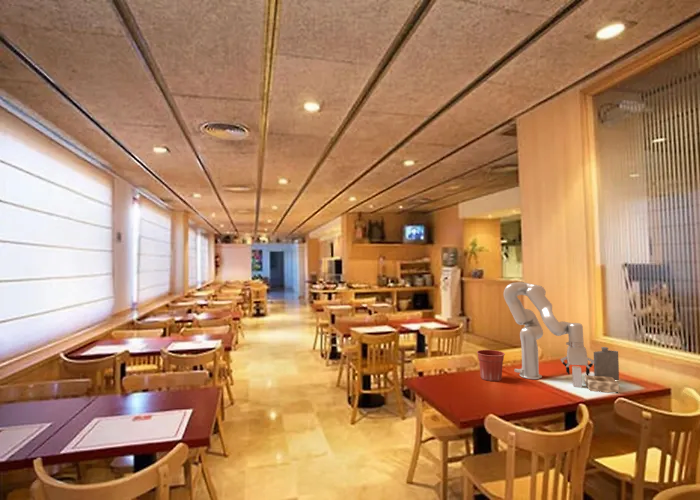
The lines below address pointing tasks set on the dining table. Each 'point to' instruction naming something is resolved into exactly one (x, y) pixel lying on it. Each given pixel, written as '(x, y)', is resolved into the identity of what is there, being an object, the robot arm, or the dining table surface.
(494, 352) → the flower pot
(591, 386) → the birch block
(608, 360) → the hip flask
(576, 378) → the light grey tall block
